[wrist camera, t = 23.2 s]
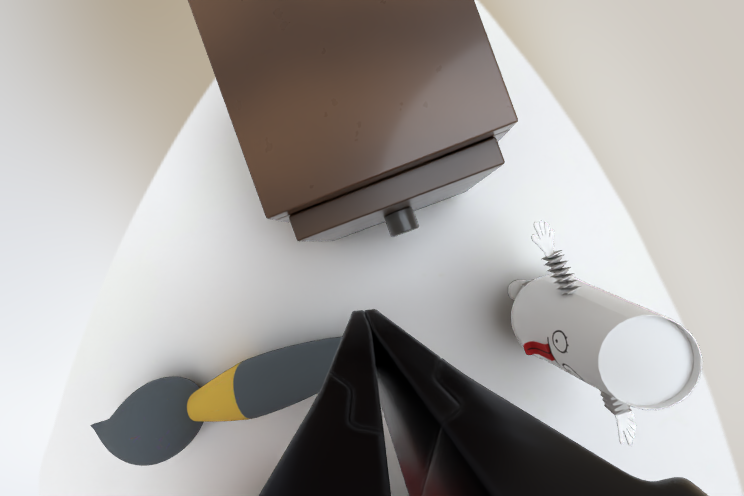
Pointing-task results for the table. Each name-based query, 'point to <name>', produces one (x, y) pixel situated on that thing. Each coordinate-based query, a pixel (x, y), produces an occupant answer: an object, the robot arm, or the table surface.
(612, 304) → the toy figure
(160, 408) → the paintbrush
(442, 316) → the table surface
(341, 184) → the cabinet
